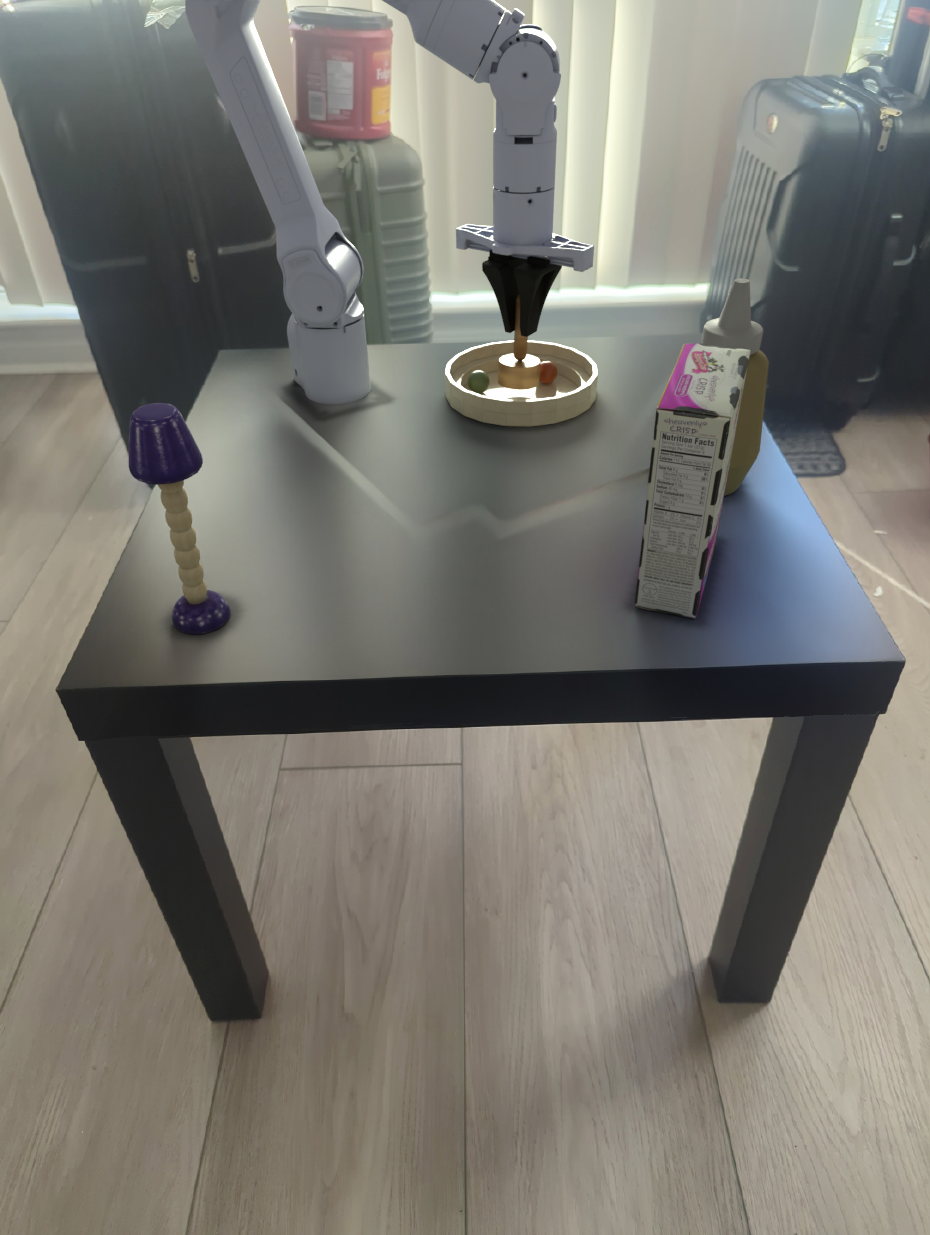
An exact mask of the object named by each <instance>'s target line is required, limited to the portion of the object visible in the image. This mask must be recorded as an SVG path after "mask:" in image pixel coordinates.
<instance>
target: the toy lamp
mask: <svg viewBox="0 0 930 1235" xmlns="http://www.w3.org/2000/svg"><path fill="white" fill-rule="evenodd" d="M203 460H204V459H203V455H202V452H201V450H200V448H199V446H198V444H197V442H196V440H195V438H194V436H193V434H192V432H191V430H190V428H189V427H188V425H187V422H186V421H185V419H184V417H183V415H182V413H181V412H180V410H179V409H178V408H177V407H176V406H174V404H173V405H172V404H171V403H164V402H156V403H155V402H154V403H147V404H143V405H141V406H139V407H137V408H136V409H135V410H133V412H132V413H131V414H130V419H129V435H128V470H129V473H130V475H131V476H132V477H133V478H134V479H135V480H137V481H138V482H141V483H145V484H147V485H154V486H155V485H157V487H158V488H159V490H160V501H161V504H162V506H163V508H164V509H165V512H164V513H165V514H164V517H165V521H166V524H167V526H168V527H169V539H170V542H171V545H172V546H173V547H174V549H173V556H174V559H175V562H176V564H177V565H178V568H177V571H178V572H177V573H178V577H179V580H180V581H181V583H182V586H181V588H182V596H181V597H179V598H178V600H177V601H176V602H175V604H174V606H173V609H172V612H171V613H172V615H171V620H172V624H173V626H174V627H175V629H177V630H178V631H180V632H182V633H184V634H189V635H203V634H207V633H211V632H213V631H216V630H218V629H219V628H221V627H222V626H223V625H225V624H226V623H227V621H228V620H229V619H230V617H231V614H232V613H231V608H230V605H229V603H228V602H227V600H226V599H225V597H223V596H222V594H220V593H218V592H216V591H214V590H211V589H208V588H207V587H208V586H207V584H206V582H205V580H204V577H205V573H204V572H205V571H204V568H203V565H202V564H201V552H200V548H199V546H198V545H197V540H198V539H197V533H196V530H195V528H194V526H193V515H192V511H191V510H190V508H189V507H188V505H189V496H188V493H187V490H186V489H185V488H184V483H185V480H188V479H190V478H192V477H194V476H195V475H196V474H198V473H199V471H200V470H201V469H202V467H203V464H204V461H203Z"/></svg>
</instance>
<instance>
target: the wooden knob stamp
mask: <svg viewBox="0 0 930 1235" xmlns="http://www.w3.org/2000/svg"><path fill="white" fill-rule="evenodd" d="M513 332H514V333H513V335H514V336H513V337H514V338H513V341H514V352H513V354H508V355H504V356H502V357H500V358H499V367H498V383H499V384H500V385H501V386H503V387H505V388H508V389H514V390H527V389H532V388H535V387H537V386H538V385H539V379H540V365H541V361H540V359H539V358H537V357H535V356H532V355H528V354H527V343H528V341H529V336H528V337H525V336H521V332H520V299H519V295H518V296H517V298H516V313H515V331H513Z"/></svg>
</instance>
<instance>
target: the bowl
mask: <svg viewBox="0 0 930 1235" xmlns="http://www.w3.org/2000/svg"><path fill="white" fill-rule="evenodd" d="M513 352H514V340H504V341H495V342H488V343H485V344H481V345H477V346H473V347H469V348H468V349H465V350H464V351H462V352H459V353H457V354H456V355H454V356H453V357H452V358H451V359H450V360H449V361H448V362H447V363H446V366H445V371H444V387H445V390H444V392H445V398H446V400H447V402H448V404H449V405H450V407H451V408H452V409H454V410H455V411H456V412H458V413H459V414H461V415H462V416H464V417H466V418H469V419H472V420H475V421H478V422H480V423H484V424H489V425H490V424H491V425H496V426H503V427H539V426H547V425H553V424H554V425H555V424H558V423H561V422H564V421H568V420H571V419H574V418H577V417H578V416H580V415H581V414H583V413H585V412H587V411H588V410H589V409H590V408H591V407H592V405H593V404H594V402H595V401H596V399H597V392H598V391H597V389H598V379H599V374H598V365H597V363H596V362H595V361H594V360H593V359H592V358H591V357H590V356H589V355H588V354H585V353H583V352H582V351H579V350H578V349H576V348H574V347H570V346H567V345H562V344H559V343H555V342H548V341H541V340H528V343H527V354H528V355H532V356H535V357H537V358H539V359H540V361H541V362H543V361H550V362H552V363H554V364H555V365H556V367H557V371H558V373H557V377H556V379H555V380H554V381H553V382H551V383H549V384H544V383H541V382H540V381H539V385H538V386H537V387H535V388H532V389H527V390H514V389H508V388H505V387H503V386H501V385H500V384H499V383H498V367H499V358H500V357H502V356H504V355H508V354H513ZM476 370H481V371H484V372H485V373H486V374H487V375H488V377H489V379H490V384H489V387H488V389H487V390H486V391H485V392H483V393H474V392H472V391H471V390H470V389H469V387H468V383H467V380H468V377H469V375H470V374H471V373H472V372H474V371H476Z"/></svg>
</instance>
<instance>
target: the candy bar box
mask: <svg viewBox="0 0 930 1235" xmlns="http://www.w3.org/2000/svg"><path fill="white" fill-rule="evenodd" d="M680 349H681V350H680V352H679V354H678V357H677V361H676V362H675V365H674V367H673V369H672V372H671V374H670V376H669V379H668V380H667V383H666V385H665V387H664V389H663V392H662V395H661V397H660V399H659V401H658V403H657V406H656V409H655V419H654V425H653V426H654V427H653V438H652V445H651V446H652V447H651V452H650V462H649V469H648V470H649V471H648V478H647V481H648V482H647V490H646V501H645V509H644V520H643V527H642V536H641V544H640V554H639V560H638V568H637V569H638V570H637V578H636V579H637V580H636V588H635V596H634V606H635V607H636V608H640V609H643V610H647V611H653V612H659V613H664V614H670V615H675V616H678V617H679V616H680V617H685V618H689V619H696V618H697V617H698V613H699V609H700V606H701V602H702V598H703V595H704V591H705V586H706V583H707V579H708V575H709V572H710V568H711V563H712V560H713V555H714V551H715V548H716V543H717V540H718V531H719V525H720V520H721V514H722V509H723V504H724V498H725V496H724V493H725V487H726V481H727V476H728V470H729V465H730V460H731V454H732V448H733V443H734V437H735V432H736V427H737V421H738V416H739V409H740V404H741V398H742V393H743V388H744V382H745V377H746V371H747V366H748V362H749V356H750V350H747V349H737V348H728V347H723V346H713V345H709V346H705V345H704V344H702V343H696V342H695V343H684V344H683V345H682V347H681V348H680Z"/></svg>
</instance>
